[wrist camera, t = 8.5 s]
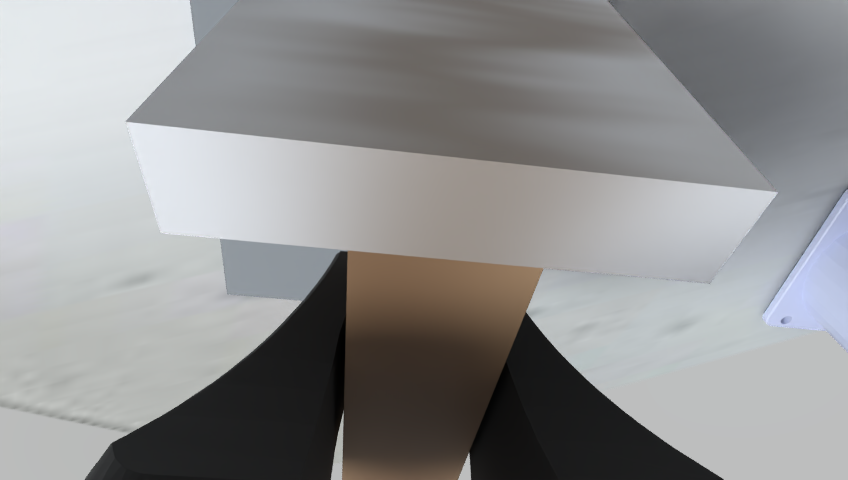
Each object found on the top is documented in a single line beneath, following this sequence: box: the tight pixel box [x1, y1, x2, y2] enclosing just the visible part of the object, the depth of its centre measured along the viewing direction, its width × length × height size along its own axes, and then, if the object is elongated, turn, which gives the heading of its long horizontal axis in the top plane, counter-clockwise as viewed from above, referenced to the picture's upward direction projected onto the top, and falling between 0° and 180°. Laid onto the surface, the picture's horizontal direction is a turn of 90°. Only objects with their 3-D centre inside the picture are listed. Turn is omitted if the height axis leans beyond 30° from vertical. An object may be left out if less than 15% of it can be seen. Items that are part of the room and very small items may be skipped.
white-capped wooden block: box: [126, 0, 778, 480], centre depth 12 cm, size 7×12×7 cm, turn 173°
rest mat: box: [190, 0, 348, 301], centre depth 20 cm, size 14×16×1 cm
